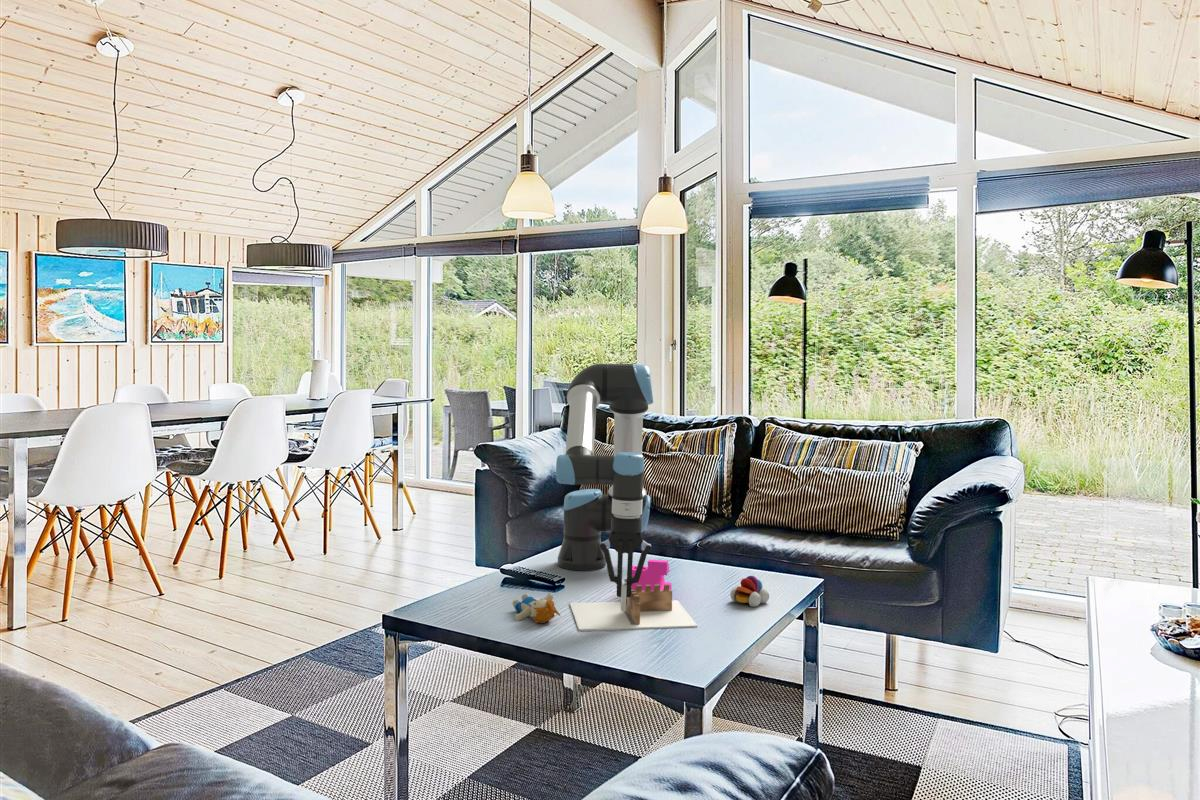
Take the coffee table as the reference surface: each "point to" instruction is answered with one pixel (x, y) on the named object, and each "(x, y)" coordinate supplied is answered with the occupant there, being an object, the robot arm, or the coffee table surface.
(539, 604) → the toy
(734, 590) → the rainbow petal cluster
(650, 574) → the bracket
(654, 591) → the fence fixed
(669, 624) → the card
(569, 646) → the coffee table surface
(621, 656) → the coffee table surface
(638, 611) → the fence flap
